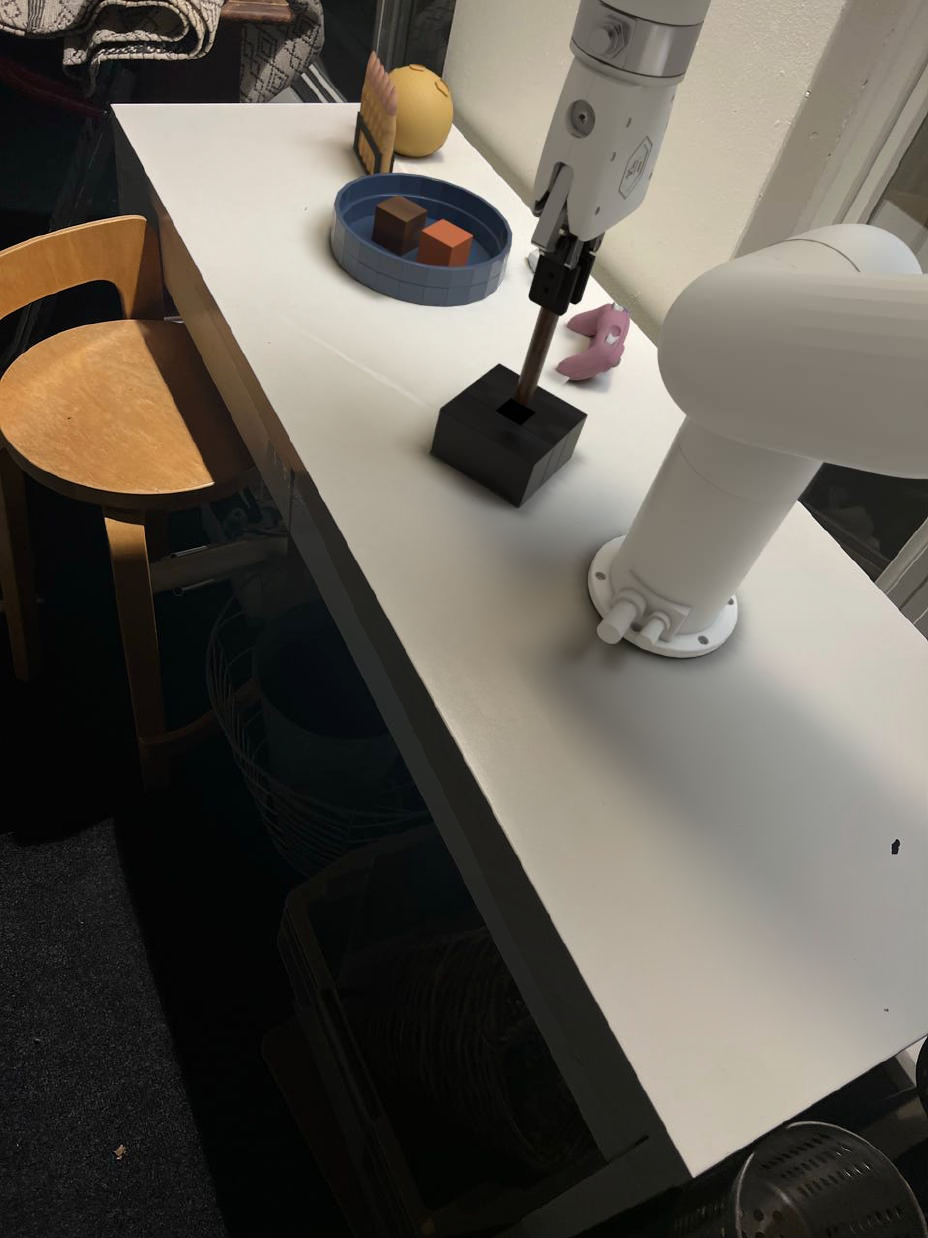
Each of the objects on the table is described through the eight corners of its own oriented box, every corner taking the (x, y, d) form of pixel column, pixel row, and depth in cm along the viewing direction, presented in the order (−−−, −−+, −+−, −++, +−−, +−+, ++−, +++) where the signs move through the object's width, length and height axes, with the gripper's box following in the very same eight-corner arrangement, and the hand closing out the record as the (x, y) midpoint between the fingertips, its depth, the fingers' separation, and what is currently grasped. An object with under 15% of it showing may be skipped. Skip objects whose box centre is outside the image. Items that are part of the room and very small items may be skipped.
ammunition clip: (389, 198, 107) (405, 90, 98) (374, 197, 106) (388, 89, 97) (366, 153, 112) (379, 47, 103) (352, 152, 112) (363, 46, 103)
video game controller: (583, 402, 92) (634, 359, 87) (551, 373, 90) (601, 329, 86) (594, 349, 98) (642, 307, 94) (563, 322, 97) (610, 278, 92)
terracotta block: (445, 282, 96) (452, 247, 93) (415, 265, 97) (421, 230, 94) (465, 269, 99) (473, 235, 96) (436, 252, 100) (442, 218, 97)
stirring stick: (525, 408, 76) (579, 241, 65) (509, 398, 76) (560, 231, 65) (535, 400, 77) (589, 234, 66) (519, 391, 77) (570, 224, 66)
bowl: (438, 335, 91) (447, 291, 88) (293, 250, 96) (296, 205, 92) (532, 271, 103) (543, 230, 99) (399, 198, 107) (405, 156, 103)
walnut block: (400, 256, 98) (406, 221, 95) (371, 240, 99) (375, 204, 95) (421, 244, 100) (427, 210, 97) (392, 228, 101) (398, 193, 98)
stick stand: (519, 508, 78) (534, 465, 74) (429, 452, 80) (439, 408, 76) (571, 456, 84) (588, 414, 80) (486, 406, 86) (499, 362, 82)
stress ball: (445, 178, 113) (462, 93, 105) (367, 163, 111) (378, 75, 103) (444, 142, 119) (459, 59, 111) (369, 127, 117) (380, 42, 110)
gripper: (631, 86, 50) (544, 364, 64) (734, 36, 60) (639, 287, 73) (519, 34, 52) (458, 316, 66) (636, -7, 61) (561, 247, 75)
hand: (554, 299), depth 69 cm, fingers closed on stirring stick, 1 cm apart
